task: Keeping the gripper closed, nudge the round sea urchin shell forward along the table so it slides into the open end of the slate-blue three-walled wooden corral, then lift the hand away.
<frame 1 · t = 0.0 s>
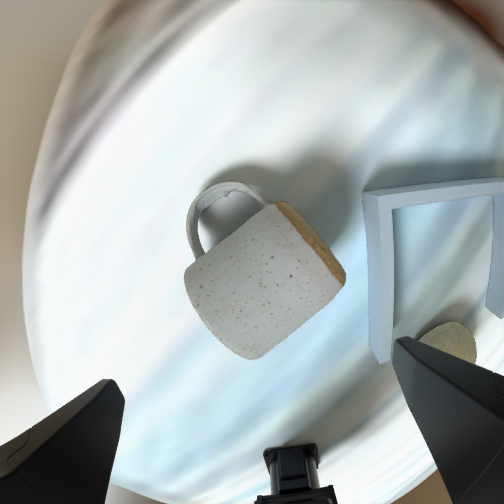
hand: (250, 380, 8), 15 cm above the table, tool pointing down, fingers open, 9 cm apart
corral: (444, 264, 23), on the table
ceramic mug: (250, 248, 23), on the table
sea urchin shell: (431, 353, 26), on the table
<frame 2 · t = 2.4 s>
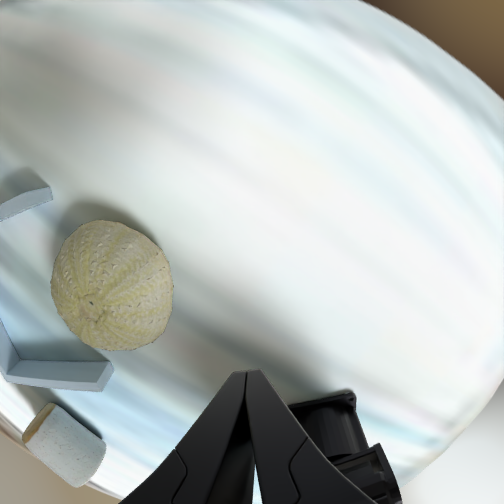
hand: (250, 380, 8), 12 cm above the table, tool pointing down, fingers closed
corral: (27, 295, 20), on the table
ceramic mug: (72, 425, 26), on the table
sea urchin shell: (121, 277, 20), on the table
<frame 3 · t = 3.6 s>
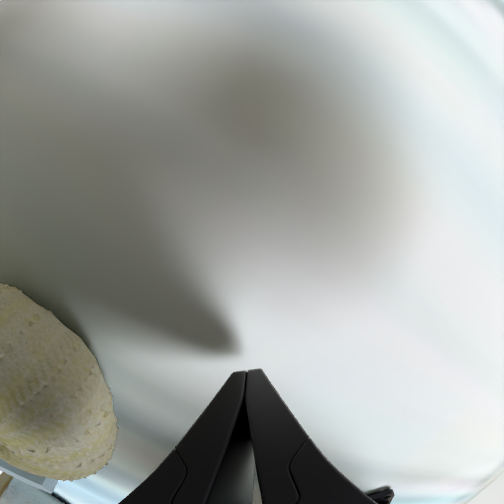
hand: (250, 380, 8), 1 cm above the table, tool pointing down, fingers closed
ceramic mug: (40, 488, 16), on the table
sea urchin shell: (42, 362, 10), on the table
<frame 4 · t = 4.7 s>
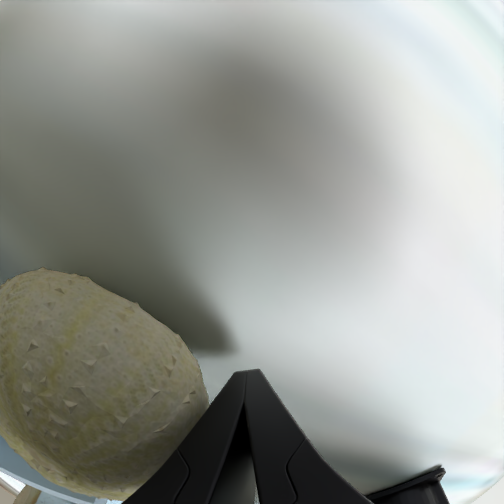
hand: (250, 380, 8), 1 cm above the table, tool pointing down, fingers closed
ceramic mug: (66, 500, 16), on the table
sea urchin shell: (103, 366, 10), on the table, touching gripper
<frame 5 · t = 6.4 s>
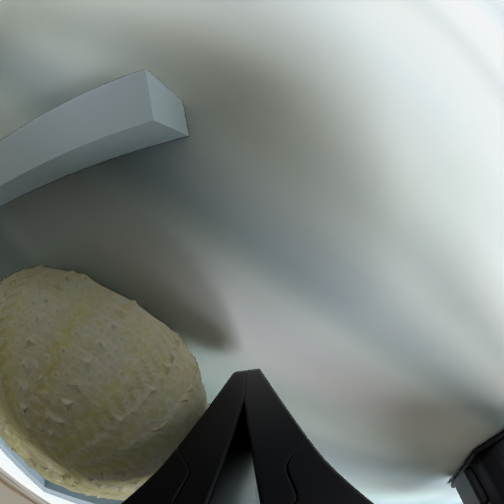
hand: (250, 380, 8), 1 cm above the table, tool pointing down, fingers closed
corral: (81, 371, 9), on the table
sea urchin shell: (101, 364, 10), on the table, touching gripper
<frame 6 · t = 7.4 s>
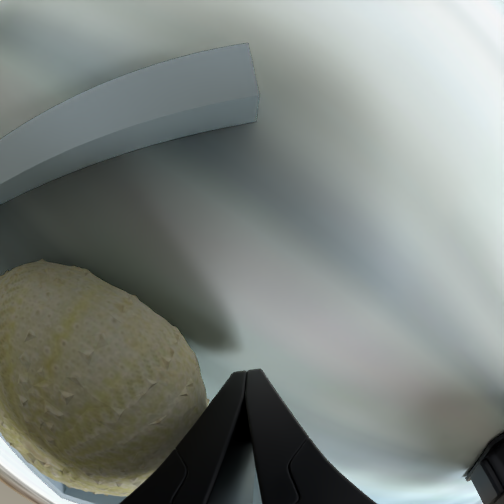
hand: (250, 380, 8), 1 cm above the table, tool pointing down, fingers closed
corral: (115, 371, 9), on the table
sea urchin shell: (101, 360, 10), on the table, touching gripper
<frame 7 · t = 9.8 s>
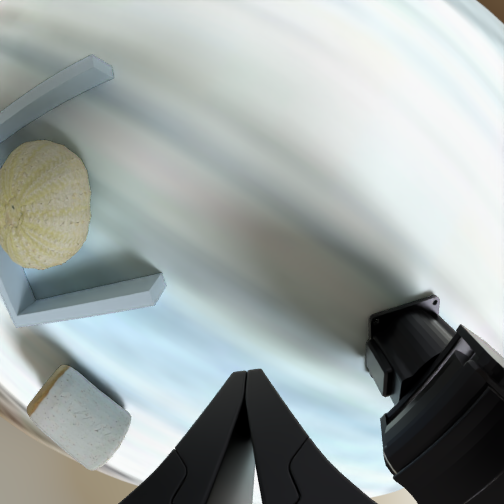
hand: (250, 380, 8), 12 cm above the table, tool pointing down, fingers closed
corral: (59, 201, 18), on the table
ceramic mug: (88, 396, 24), on the table
sea urchin shell: (54, 200, 18), on the table
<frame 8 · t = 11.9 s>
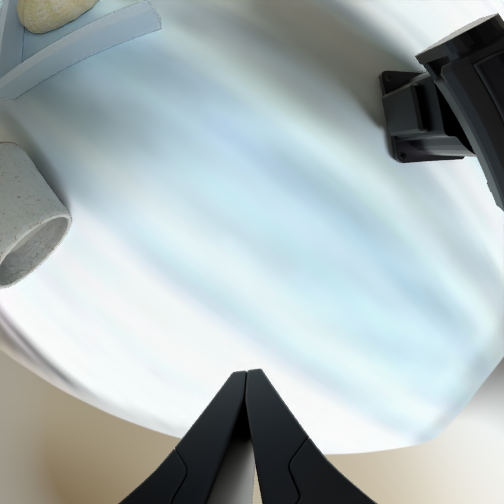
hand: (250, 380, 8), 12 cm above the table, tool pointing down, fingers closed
ceramic mug: (32, 216, 19), on the table
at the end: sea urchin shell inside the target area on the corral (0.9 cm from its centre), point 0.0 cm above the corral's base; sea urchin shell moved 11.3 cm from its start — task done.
